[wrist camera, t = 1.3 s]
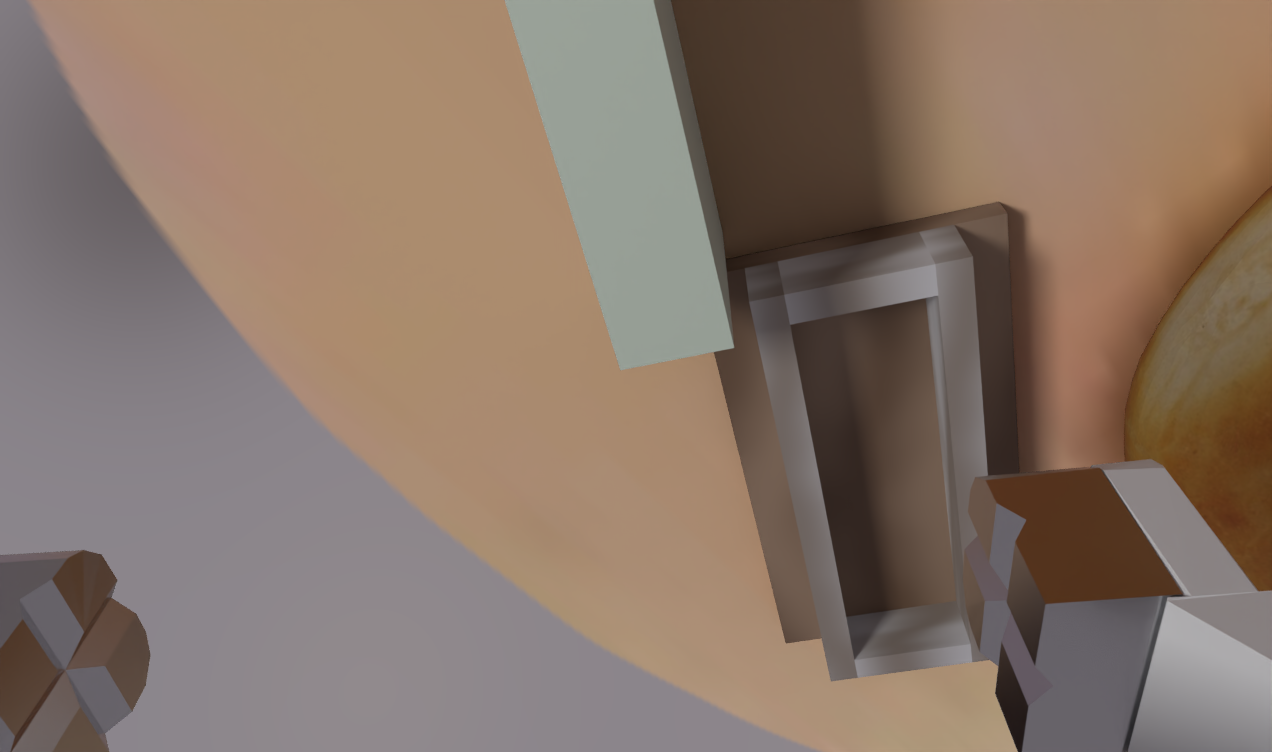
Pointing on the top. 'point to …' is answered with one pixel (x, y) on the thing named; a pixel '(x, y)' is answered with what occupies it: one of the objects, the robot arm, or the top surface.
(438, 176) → the top surface
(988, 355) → the grey rectangular tray
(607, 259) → the pale green rectangular block
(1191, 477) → the bread
